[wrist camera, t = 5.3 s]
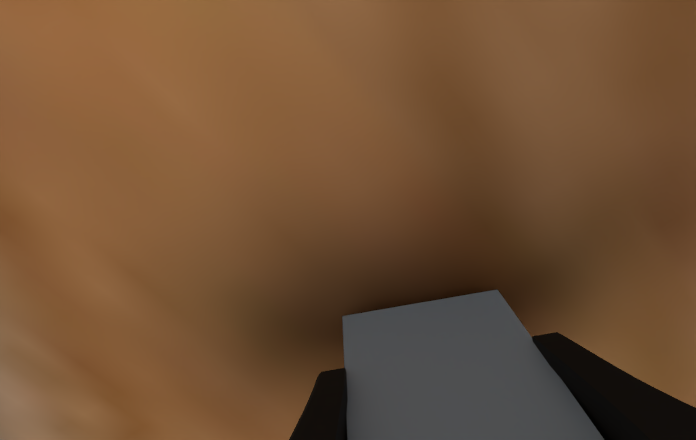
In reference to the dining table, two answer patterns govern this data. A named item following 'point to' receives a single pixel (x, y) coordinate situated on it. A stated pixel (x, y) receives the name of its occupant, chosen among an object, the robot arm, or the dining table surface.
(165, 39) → the dining table surface
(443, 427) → the slate tile
